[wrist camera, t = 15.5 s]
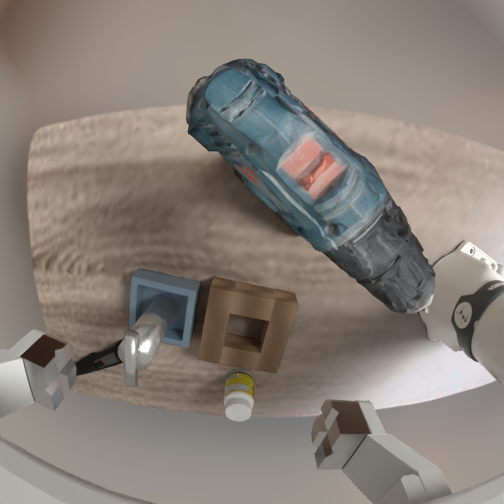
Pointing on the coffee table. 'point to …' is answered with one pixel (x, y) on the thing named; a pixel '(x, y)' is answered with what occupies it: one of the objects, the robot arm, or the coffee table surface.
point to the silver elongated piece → (146, 336)
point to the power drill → (311, 180)
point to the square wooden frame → (249, 305)
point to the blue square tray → (181, 289)
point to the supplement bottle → (239, 395)
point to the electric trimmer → (99, 361)
